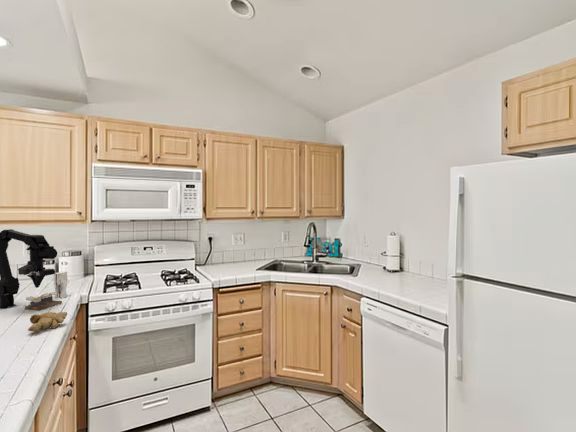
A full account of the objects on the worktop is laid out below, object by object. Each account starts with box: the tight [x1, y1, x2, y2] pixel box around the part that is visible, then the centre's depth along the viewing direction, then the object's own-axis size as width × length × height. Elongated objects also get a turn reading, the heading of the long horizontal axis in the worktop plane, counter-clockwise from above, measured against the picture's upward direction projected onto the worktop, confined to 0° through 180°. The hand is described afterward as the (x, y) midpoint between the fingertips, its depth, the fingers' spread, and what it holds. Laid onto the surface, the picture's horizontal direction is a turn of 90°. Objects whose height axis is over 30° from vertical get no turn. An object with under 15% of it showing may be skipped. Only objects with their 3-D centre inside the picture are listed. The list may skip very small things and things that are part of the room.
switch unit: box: [24, 295, 63, 311], centre depth 182 cm, size 10×13×4 cm
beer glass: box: [53, 271, 68, 299], centre depth 200 cm, size 7×7×15 cm
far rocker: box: [45, 291, 57, 298], centre depth 186 cm, size 7×3×1 cm, turn 75°
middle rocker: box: [36, 293, 50, 299], centre depth 182 cm, size 7×3×1 cm, turn 75°
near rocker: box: [25, 296, 41, 302], centre depth 178 cm, size 7×3×1 cm, turn 75°
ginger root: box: [27, 311, 68, 333], centre depth 150 cm, size 16×16×8 cm
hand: (37, 287), depth 177 cm, fingers closed
